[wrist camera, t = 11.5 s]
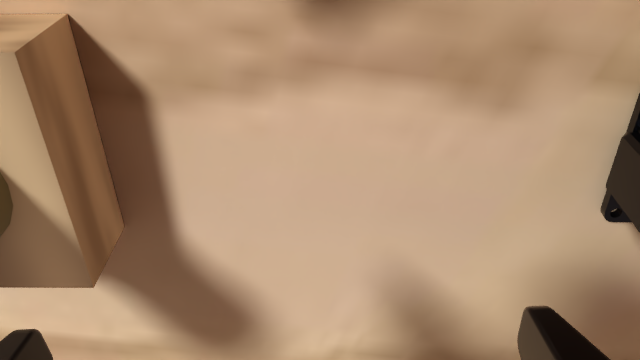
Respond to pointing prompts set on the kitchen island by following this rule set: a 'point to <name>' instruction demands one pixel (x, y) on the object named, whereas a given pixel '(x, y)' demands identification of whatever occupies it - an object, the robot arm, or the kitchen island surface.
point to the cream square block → (51, 160)
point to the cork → (5, 205)
